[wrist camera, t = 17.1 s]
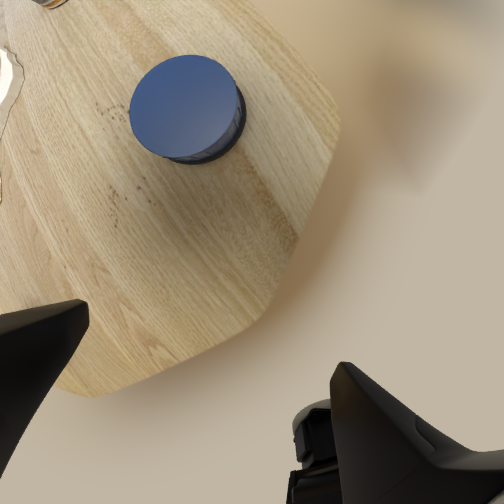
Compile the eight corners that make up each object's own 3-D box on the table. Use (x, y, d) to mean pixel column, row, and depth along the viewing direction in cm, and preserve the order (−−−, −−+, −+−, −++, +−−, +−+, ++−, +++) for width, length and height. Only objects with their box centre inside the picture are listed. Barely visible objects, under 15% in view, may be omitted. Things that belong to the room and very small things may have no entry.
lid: (193, 56, 16) (182, 37, 12) (263, 110, 17) (263, 96, 13) (131, 124, 17) (109, 116, 14) (195, 181, 18) (181, 182, 15)
